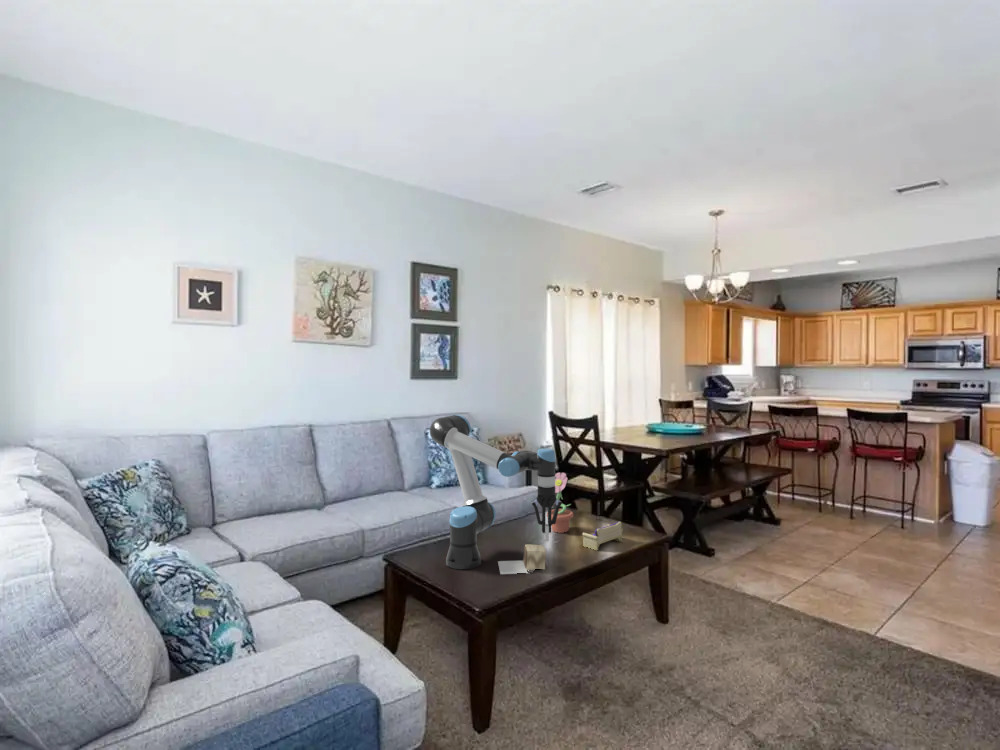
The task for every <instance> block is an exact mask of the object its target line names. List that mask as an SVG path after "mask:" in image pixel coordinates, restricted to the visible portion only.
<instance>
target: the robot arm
mask: <svg viewBox="0 0 1000 750" xmlns="http://www.w3.org/2000/svg"><path fill="white" fill-rule="evenodd" d="M471 427H472V426H471V424H470V422H469V420H468V419H467V418H466V417H465V416H463V415H460V414H456V415H454V414H453V415H449V416H444V417H438V418H436V419H434V421H432V423H431V425H430V427H429V435H430V437H431V439H432V440H433V441H434V442H435V443H436V444H438V445H440V446H441V447H444V448H446V449H447V450H449V451H450V454H451V458H452V462H453V465H454V468H455V472H456V476H457V479H458V483H459V486H460V490H461V492H462V496H463V499H464V502H463V503H462V506H461V507H460V506H459V507H455V508H454V509H452V511H451V512H450V513H449V520H448V521H449V547H448V551H447V555H446V557H445V565H446V567H449V568H451V569H454V570H469V569H470V570H471V569H475V568H478V567H479V566H480V565H481V564H482V557H481V553H480V551H479V547H478V545H477V543H478V541H477V540H478V539H477V537H478V536H477V535H478V534H479V533H481V532H483V531H486V530H487V529H489V528H490V527H491V526H493V525H494V523H495V521H496V519H497V513H496V509H495V507H494V505H493V504H491V502H489V501H488V500H489V499H488V497H487V496H485V495H484V494H483V492H482V489H481V486H480V482H479V478H478V475H477V472H476V468H475V464H474V460H473V459H475V460H477V461H478V462H479V461H480V462H481V463H483V464H486V465H487V466H490V467H492V468H494V469H496V470H498V472H499V473H500V475H501V476H503V477H505V478H506V477H507V478H508V477H513V476H516V475H517V474H519V473H523V472H524V471H535V472H536V471H537V496H536V499H535V500H533V501H531V505H532V507H533V509H534V512H535V517H536V521H537V524H538V525H541V532H542V533H543V535H544V537H543V538H544V541H545V542H549V540H550V534H551V533H552V526H551V525H552V524H555V523H556V519H557V515H558V511H559V509H560V505H561V504H563V502H562V501H561V500H560V499H559V500H557V498H556V497H557V495H556V493H555V486H554V485H555V480H556V477H555V474H556V452H555V449H553V448H552V449H551V448H540V449H538V450H537V452H528V451H521V450H520V451H514V452H513V453H512V454H509V453H506V452H504V451H503V450H500V449H497V448H495V447H493V446H490V445H489V444H487V443H484V442H482V441H481V440H480V441H479V440H478V439H475V438H474V437H471V436H469V435H470V433H471V430H472V428H471ZM538 505H540V508H541V517H540V513H539V508H538ZM554 505H555V506H554ZM553 506H554V509H555V510H554V514H553V518H552V521H551V510H553V509H552V507H553ZM546 508H547V512H548V518H547V523H546Z"/></svg>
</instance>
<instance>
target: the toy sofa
mask: <svg viewBox="0 0 1000 750" xmlns="http://www.w3.org/2000/svg"><path fill="white" fill-rule="evenodd" d="M623 531H624V529H623V527H622V522H621V521H617V522H614V523H613V524H612V523H611V524H609V523H608V524H607V525H606V526H603V527H598V528H596V529H595V530H594V533H593V534H590V533H587V532H582V537H583V538H582V540H583V541H582V543H583V544H582V546H584V547H583V548H586V547H588V548H587V549H590V548H591V549H590V550H593V549H594V551H597V550H598V551H599V547H600V545H602V544H604V543H607V542H609V541H612V540H614V541H618V542H620V543H621V542H622V541H623ZM622 543H623V542H622Z"/></svg>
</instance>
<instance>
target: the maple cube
mask: <svg viewBox="0 0 1000 750" xmlns="http://www.w3.org/2000/svg"><path fill="white" fill-rule="evenodd" d="M546 554H547V551H546V549H545V546H544V545H543V544H524V546H523V559H522V560H523V562H524V565H525V568H526V570H533V571H536V570H535V569H545V570H546V558H547V557H546V556H547V555H546Z"/></svg>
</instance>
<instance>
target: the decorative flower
mask: <svg viewBox="0 0 1000 750" xmlns="http://www.w3.org/2000/svg"><path fill="white" fill-rule="evenodd" d="M568 481H569V479H568V477H567V473H566V472H557V473H555V485H554V486H555V494H556V498H557V500H560V498H561V500H563V499H564V498H563V494H562V491H563V490H564V489H565V488H566V486H567V482H568ZM571 505H572V503H568V504H567V505H566V504H564V503H562V504H561V505H560V507H561V508H560V507H559V511H558V515H557V519H556V523H555V524H552V525H551V531H553V532H554V533H557V532H558V534H562V533H563V534H565V533H567V532H568V531H569V530H570V520H571V519H574V513H573V511H572V510H569V509H567V507H569V506H571ZM554 510H555V508H554V509H552V510H551V521H552V518H553V514H554ZM546 512H547V513H546V518H547V519H548V511H546ZM564 532H565V533H564Z"/></svg>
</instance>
